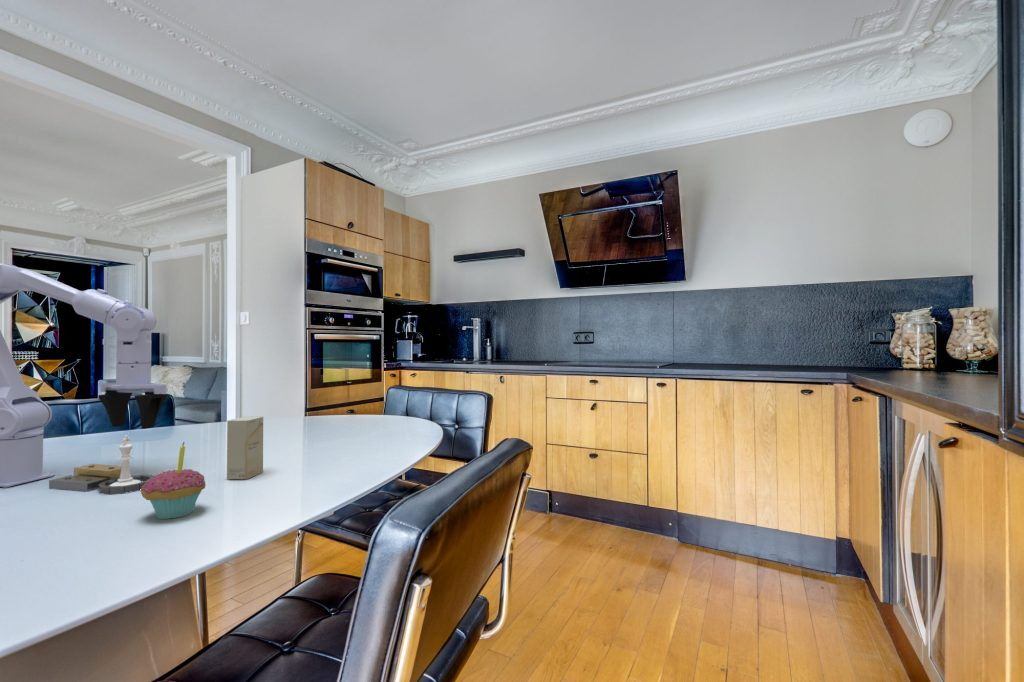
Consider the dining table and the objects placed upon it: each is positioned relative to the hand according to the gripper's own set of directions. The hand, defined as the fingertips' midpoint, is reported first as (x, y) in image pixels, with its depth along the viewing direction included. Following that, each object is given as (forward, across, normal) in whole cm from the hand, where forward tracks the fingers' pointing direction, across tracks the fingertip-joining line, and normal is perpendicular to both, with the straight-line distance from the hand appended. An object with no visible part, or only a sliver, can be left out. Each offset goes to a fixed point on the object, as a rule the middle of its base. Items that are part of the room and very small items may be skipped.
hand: (133, 426), depth 96 cm
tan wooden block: (+10, -1, -5) cm, 11 cm away
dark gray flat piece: (+10, +3, -8) cm, 13 cm away
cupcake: (+10, +29, -17) cm, 35 cm away
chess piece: (+10, +8, -8) cm, 15 cm away
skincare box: (+10, +24, +4) cm, 26 cm away
